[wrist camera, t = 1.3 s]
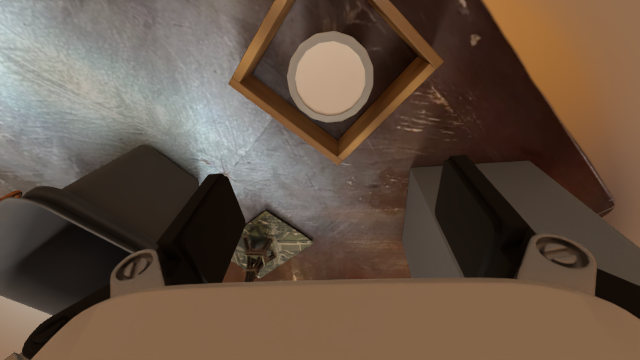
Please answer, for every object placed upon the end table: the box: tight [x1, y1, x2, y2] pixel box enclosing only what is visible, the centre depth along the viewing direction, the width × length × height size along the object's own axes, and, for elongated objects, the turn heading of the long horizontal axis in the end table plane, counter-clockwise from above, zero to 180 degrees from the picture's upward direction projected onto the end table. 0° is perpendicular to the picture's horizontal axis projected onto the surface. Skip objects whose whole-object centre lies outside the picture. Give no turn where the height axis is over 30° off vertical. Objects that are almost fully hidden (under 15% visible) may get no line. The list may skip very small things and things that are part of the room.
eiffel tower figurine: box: [231, 211, 314, 282], centre depth 36 cm, size 15×10×13 cm
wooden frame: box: [229, 0, 444, 165], centre depth 24 cm, size 14×14×4 cm
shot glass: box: [287, 31, 373, 123], centre depth 22 cm, size 7×7×7 cm
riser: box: [402, 161, 640, 286], centre depth 27 cm, size 14×14×18 cm
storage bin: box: [0, 145, 199, 315], centre depth 30 cm, size 21×16×14 cm
